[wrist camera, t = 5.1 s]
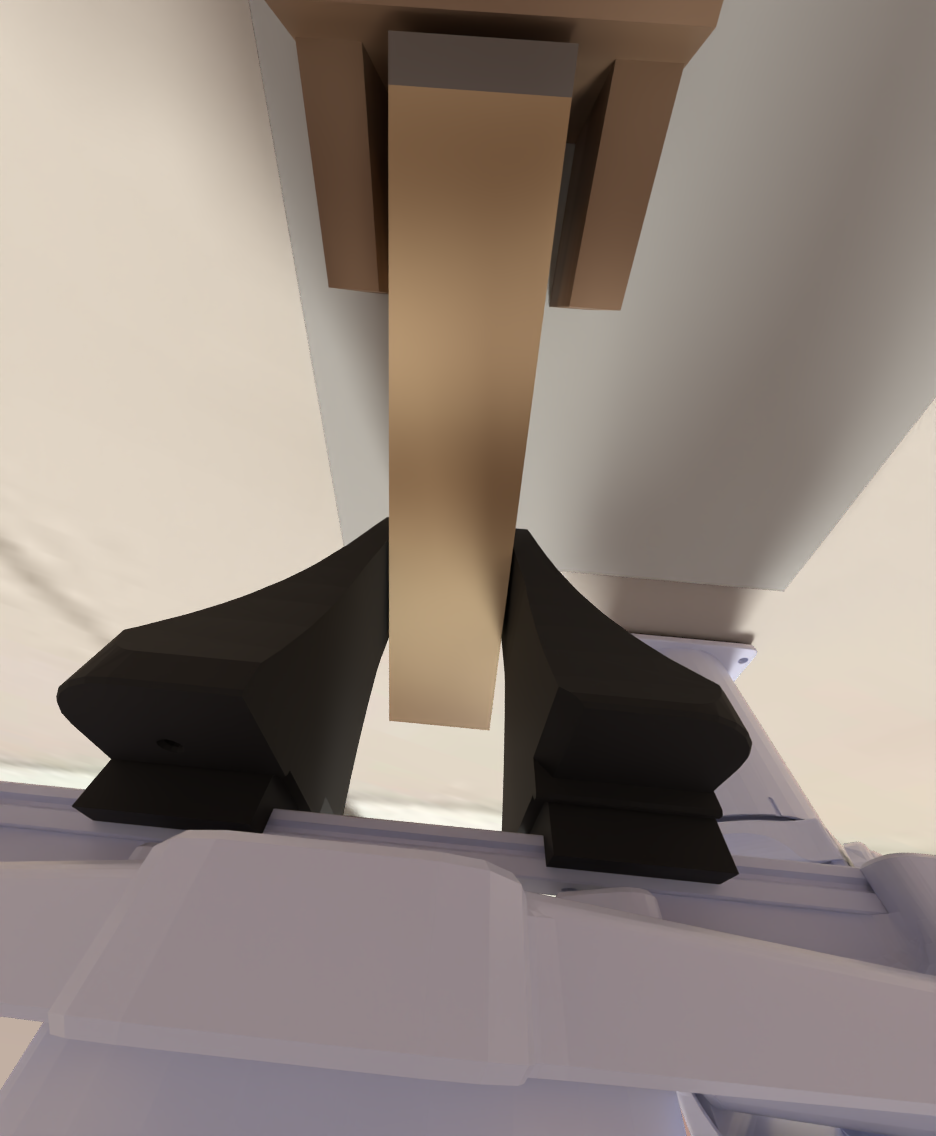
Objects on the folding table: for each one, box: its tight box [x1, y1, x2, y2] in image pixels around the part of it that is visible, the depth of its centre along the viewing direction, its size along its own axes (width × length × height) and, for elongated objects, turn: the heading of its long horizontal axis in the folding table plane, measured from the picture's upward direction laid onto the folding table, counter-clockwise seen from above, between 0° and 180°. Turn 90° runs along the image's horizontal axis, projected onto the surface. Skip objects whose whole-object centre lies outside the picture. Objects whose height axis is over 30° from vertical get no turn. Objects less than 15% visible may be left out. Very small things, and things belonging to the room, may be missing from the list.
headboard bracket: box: [265, 0, 724, 311], centre depth 8 cm, size 6×7×5 cm
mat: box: [249, 0, 936, 591], centre depth 13 cm, size 18×22×1 cm
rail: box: [388, 30, 579, 730], centre depth 10 cm, size 14×3×5 cm, turn 176°
